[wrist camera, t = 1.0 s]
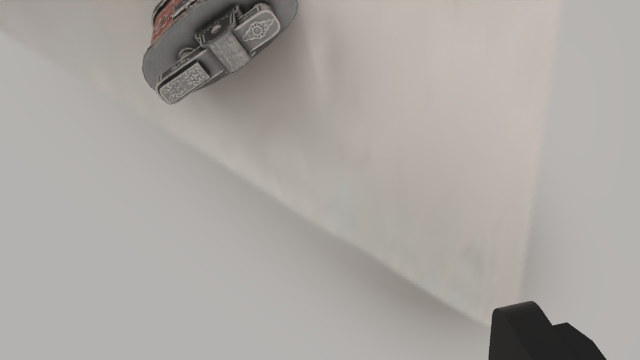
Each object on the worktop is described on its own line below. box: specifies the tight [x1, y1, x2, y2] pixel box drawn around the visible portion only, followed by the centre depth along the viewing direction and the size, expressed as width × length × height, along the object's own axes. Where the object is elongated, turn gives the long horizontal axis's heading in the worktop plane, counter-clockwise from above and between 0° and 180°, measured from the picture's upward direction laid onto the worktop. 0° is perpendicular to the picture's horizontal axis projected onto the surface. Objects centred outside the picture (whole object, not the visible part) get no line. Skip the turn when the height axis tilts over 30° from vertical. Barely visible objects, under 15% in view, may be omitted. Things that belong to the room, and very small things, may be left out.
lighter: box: [142, 0, 298, 104], centre depth 28 cm, size 8×3×10 cm, turn 122°
